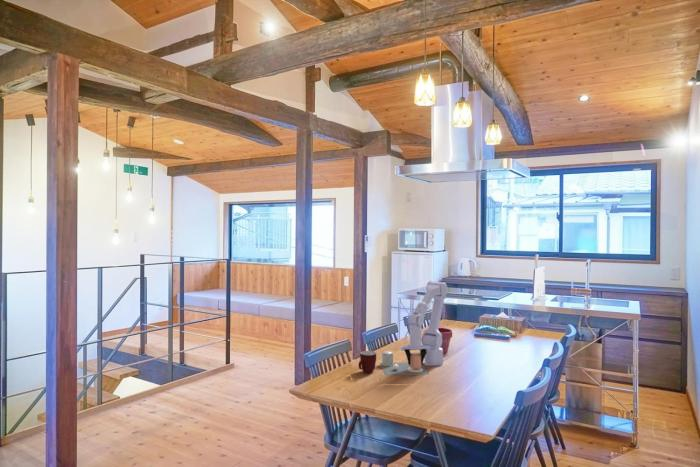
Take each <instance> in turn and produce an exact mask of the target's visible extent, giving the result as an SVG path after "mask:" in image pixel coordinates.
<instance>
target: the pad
mask: <svg viewBox="0 0 700 467" xmlns="http://www.w3.org/2000/svg"><path fill="white" fill-rule="evenodd" d="M407 370H408V371H410V372H422V371H423V369H422V368H419V369H414V368H410V367H409V368H407Z"/></svg>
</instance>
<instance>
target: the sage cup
mask: <svg viewBox="0 0 700 467" xmlns="http://www.w3.org/2000/svg"><path fill="white" fill-rule="evenodd" d="M381 363H382V366H393V363H394V352H393V351H391V350H390V351H389V350H384V351H382V352H381Z"/></svg>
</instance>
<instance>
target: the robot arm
mask: <svg viewBox="0 0 700 467" xmlns="http://www.w3.org/2000/svg"><path fill="white" fill-rule="evenodd" d="M448 290H449V288H448V285H447V282H441V281H432V280H429V281H428V282H427V284H426V287H425V293H424V296H423V298H422V301H421V302H418V303H417V304H416V306H415V308H414V310H413V312H412V313H410V314H409V315H408V317H407V324H408V328H409V344H407V345H401V346H400V351H401V352H403V351H404V353H405V356H406V358H407V363H408V364H409V365H410V354H411V353H412V352H411V351H419V353H420V354H421V365H423V364H424V365H425V366H444V353H443V349H442V348H441V347H440V346H441V345H442V334H441V333H440V332H439V330H438V329H439V328H440V323H441V317H442V314H443V308H444V307H443V306H444V302H445V299H447V293H448ZM432 300H433V305H432V309H431V314H430V319H429V320H430V321H429V324H428V328H427V329H425V330H423V333H422V325H423V324H424V320H425V315H426V313H427V311H428V309H429V305H430V302H431V301H432ZM430 334H432V335H430ZM434 335H436V336H434Z"/></svg>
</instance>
